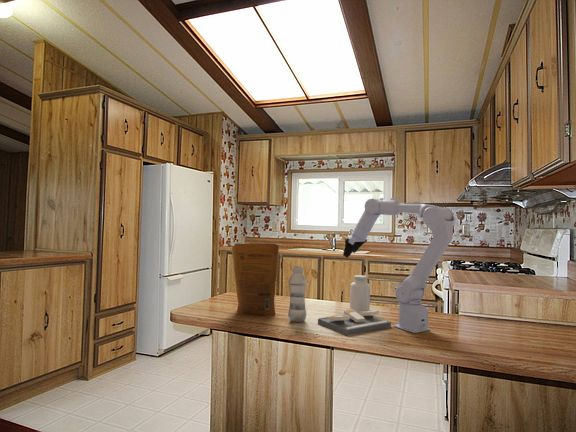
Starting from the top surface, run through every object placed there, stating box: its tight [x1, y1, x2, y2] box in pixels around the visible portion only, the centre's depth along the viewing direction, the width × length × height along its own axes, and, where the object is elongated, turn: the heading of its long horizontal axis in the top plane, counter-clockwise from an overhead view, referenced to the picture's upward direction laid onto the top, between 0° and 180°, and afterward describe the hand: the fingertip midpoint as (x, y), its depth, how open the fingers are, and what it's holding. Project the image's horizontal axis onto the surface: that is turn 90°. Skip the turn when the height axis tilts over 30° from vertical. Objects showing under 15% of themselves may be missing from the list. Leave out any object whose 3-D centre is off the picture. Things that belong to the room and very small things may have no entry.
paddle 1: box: [328, 314, 350, 320], centre depth 128 cm, size 7×4×1 cm, turn 32°
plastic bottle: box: [287, 266, 307, 323], centre depth 136 cm, size 6×7×20 cm
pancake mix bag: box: [231, 242, 280, 316], centre depth 147 cm, size 7×19×28 cm, turn 73°
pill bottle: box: [349, 274, 371, 312], centre depth 151 cm, size 8×8×15 cm
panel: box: [317, 312, 392, 336], centre depth 132 cm, size 16×20×3 cm
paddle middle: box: [343, 308, 365, 323], centre depth 132 cm, size 7×4×1 cm, turn 32°
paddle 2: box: [358, 310, 380, 316], centre depth 136 cm, size 7×4×1 cm, turn 32°
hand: (349, 253), depth 151 cm, fingers open, 7 cm apart
